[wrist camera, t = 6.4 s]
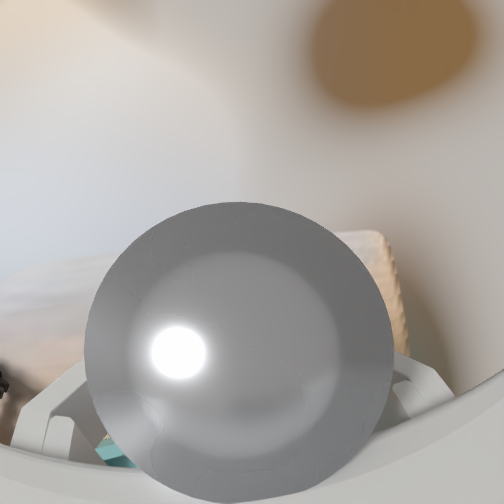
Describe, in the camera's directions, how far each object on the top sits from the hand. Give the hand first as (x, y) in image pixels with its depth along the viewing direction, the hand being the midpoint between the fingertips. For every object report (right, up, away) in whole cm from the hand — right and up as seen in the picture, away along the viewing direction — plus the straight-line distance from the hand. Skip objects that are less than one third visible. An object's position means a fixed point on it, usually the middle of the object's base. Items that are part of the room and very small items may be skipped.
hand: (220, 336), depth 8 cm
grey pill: (-1, -3, +6) cm, 7 cm away
